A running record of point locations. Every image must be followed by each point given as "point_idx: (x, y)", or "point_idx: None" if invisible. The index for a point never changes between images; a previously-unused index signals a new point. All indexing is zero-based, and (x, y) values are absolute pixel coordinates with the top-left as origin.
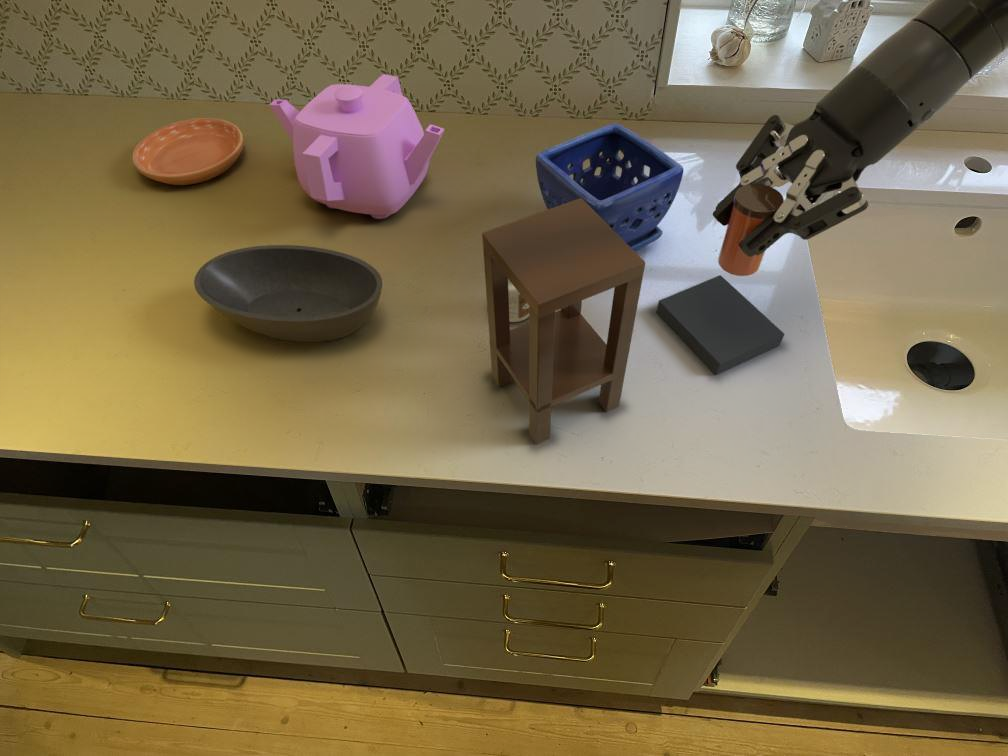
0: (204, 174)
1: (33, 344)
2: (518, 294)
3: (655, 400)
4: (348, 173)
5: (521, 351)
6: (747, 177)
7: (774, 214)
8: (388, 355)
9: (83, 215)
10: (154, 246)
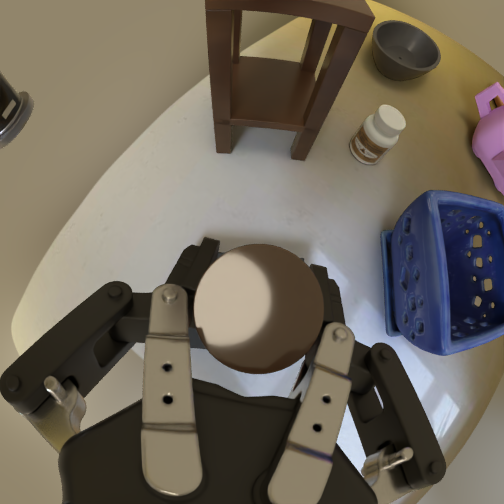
0: (498, 100)
1: (402, 15)
2: (363, 124)
3: (202, 183)
4: (493, 113)
5: (286, 70)
6: (340, 336)
7: (186, 294)
8: (352, 71)
9: (474, 64)
10: (456, 63)
